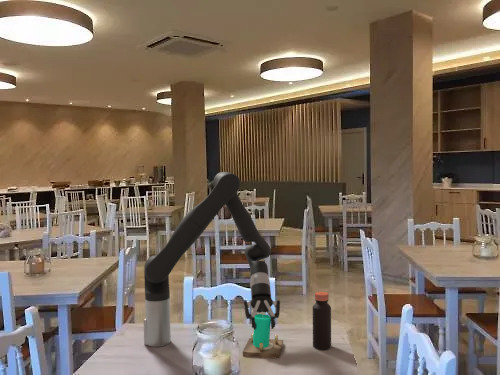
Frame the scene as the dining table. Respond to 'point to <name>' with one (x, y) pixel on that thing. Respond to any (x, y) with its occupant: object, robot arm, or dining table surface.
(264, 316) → the candle
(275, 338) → the pins
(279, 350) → the stand
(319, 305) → the bottle
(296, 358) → the dining table surface
